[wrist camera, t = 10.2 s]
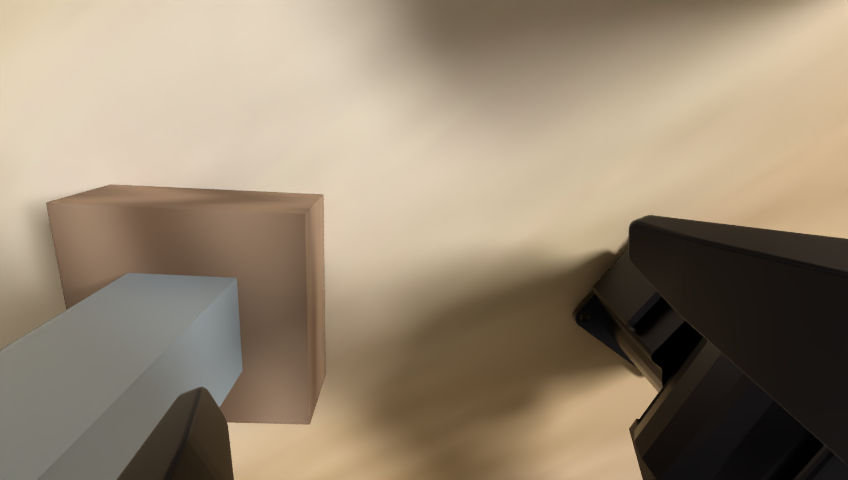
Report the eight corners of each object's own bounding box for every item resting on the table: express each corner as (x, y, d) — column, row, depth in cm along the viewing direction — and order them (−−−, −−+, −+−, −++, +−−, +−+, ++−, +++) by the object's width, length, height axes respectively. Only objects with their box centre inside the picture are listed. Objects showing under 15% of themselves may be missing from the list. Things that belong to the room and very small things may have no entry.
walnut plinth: (323, 194, 22) (304, 214, 18) (325, 374, 25) (309, 424, 21) (110, 184, 22) (45, 202, 18) (137, 369, 24) (87, 418, 21)
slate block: (236, 277, 19) (-34, 551, 7) (242, 370, 20) (19, 726, 9) (127, 272, 19) (-323, 545, 7) (140, 366, 20) (-225, 724, 8)
